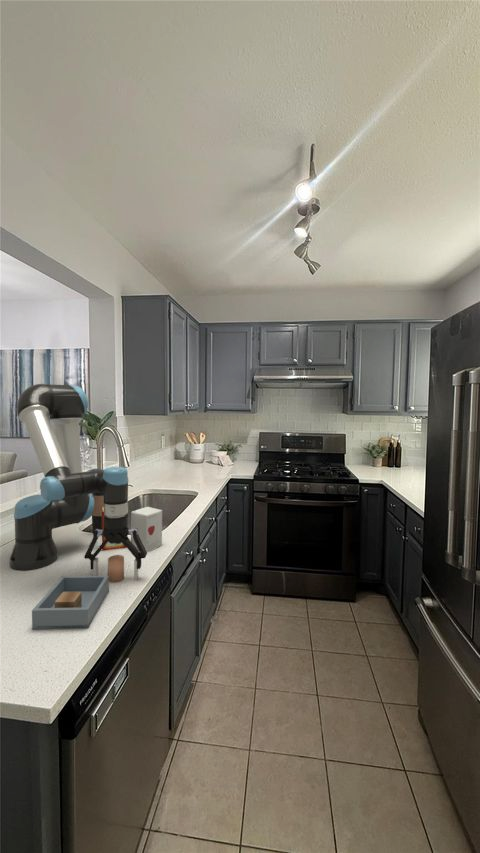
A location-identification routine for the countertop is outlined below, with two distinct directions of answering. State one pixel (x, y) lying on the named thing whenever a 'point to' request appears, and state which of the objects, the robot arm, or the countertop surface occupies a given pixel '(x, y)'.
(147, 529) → the supplement box
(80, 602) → the walnut cube
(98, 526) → the travel mug
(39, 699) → the countertop surface
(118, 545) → the baking soda box
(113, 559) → the terracotta cylinder
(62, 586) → the slate tote
